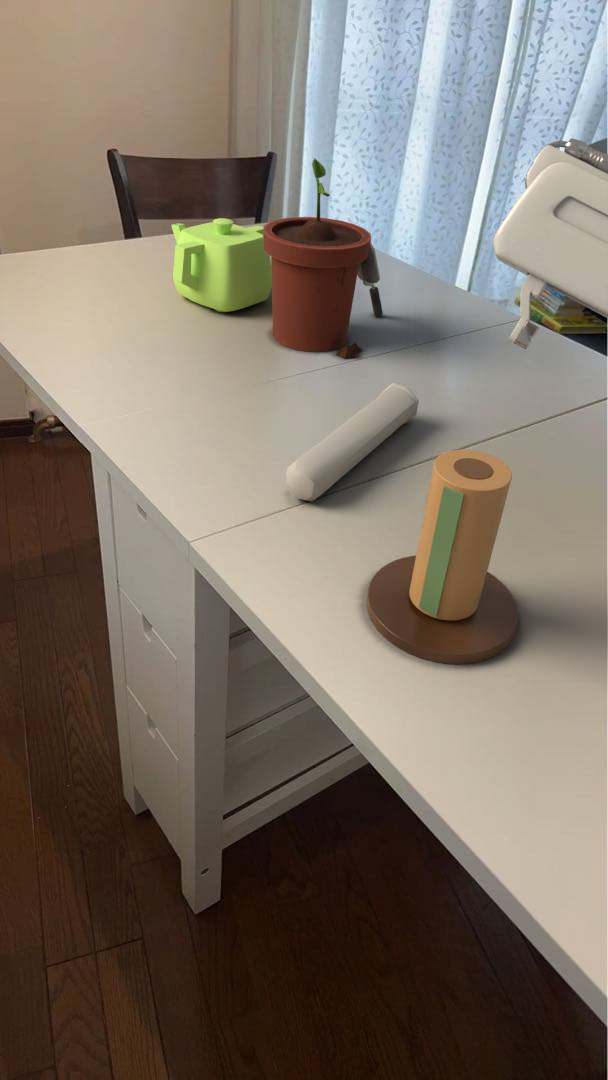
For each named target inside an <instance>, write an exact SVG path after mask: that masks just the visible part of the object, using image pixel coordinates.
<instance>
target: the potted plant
mask: <svg viewBox="0 0 608 1080" xmlns="http://www.w3.org/2000/svg"><path fill="white" fill-rule="evenodd" d="M311 166H312V171H313V174H314V178H315V181H316V216H315V217H314V216H291V217H283V218H278V219H275V220H271V221H269V222H267V223H266V224H264V226H263V227H264V228H263V238H264V250H265V251H266V252H267V254H268V255H270V260H271V267H272V289H271V301H272V302H271V308H272V310H271V311H272V312H271V313H272V337H273V340H275V342H277V343H279V344H280V345H281V346H284V347H286V348H289V349H291V350H297V351H301V352H313V353H318V352H328V351H333V350H337V349H339V348H340V349H339V351H337V352H336V354H335V355H336V356H338V357H340V358H342V359H352V358H357V354H358V353H360V352H362V351H363V350H362V348H361V347H360V346H359V345H358V343H357V342H354V343H352V344H350V343H347V344H346V345H345V343H346V342H347V338H348V332H349V326H350V320H351V316H352V315H351V314H352V309H353V303H354V296H355V291H356V284H357V281H358V280H357V279H359V280H361V281H362V284H363V286H365V287H370V288H369V289H368V290H369V295H370V301H371V306H372V311H373V315H374V317H376V318H381V317H382V316H383V315H384V312H383V307H382V301H381V296H380V290H379V287H378V286H375V284H377V283H379V281H380V280H381V275H380V269H379V265H378V259H377V253H376V249H375V248H374V245H373V244H372V234H371V233H370V231H368V230H367V229H365V228H364V227H362V226H359V225H357V224H355V223H351V222H348V221H344V220H340V219H333V218H327V217H321V195H323V196H326V197H331V194H330V193H328V192H326V191H325V187H324V184H323V183H322V182H320V179H321V178H323V177H325V176H326V174H327V171H326V168H325V166H324V165H323V164H322V163H321V162H320V161H319V160H317V159H316V158H315V157H314V158H313V160H312V163H311ZM341 347H342V348H341Z"/></svg>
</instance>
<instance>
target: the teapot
mask: <svg viewBox="0 0 608 1080" xmlns="http://www.w3.org/2000/svg"><path fill="white" fill-rule="evenodd" d="M263 228H264V226H261V225H258V224H256V225H252V226H248V227H244V226H241V225H238V224H235V223H234V221H233V220H232V219H229V218H225V217H219V218H215V219H213V220H212V221H211V222H206V223H201V224H198V225H192V226H189V227H186V226H185V223H173V224H171V229H172V232H173V235H174V238H175V242H176V244H175V246H174V257H173V258H174V259H173V270H172V281H173V284H174V286H175V289H176V291H177V293H178V294H179V295H181V297H184V298H186V299H188V300H190V301H191V302H193V303H196V304H199V305H202V306H204V307H208V308H210V309H214V311H216V312H217V313H228V312H234V311H238V310H240V309H245V308H247V307H251V306H253V305H257V304H259V303H261V302H264V301H267V299H269V296H270V294H271V293H272V267H271V256H270V255H268V254H267V252H266V251H265V250H264V238H263Z"/></svg>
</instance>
